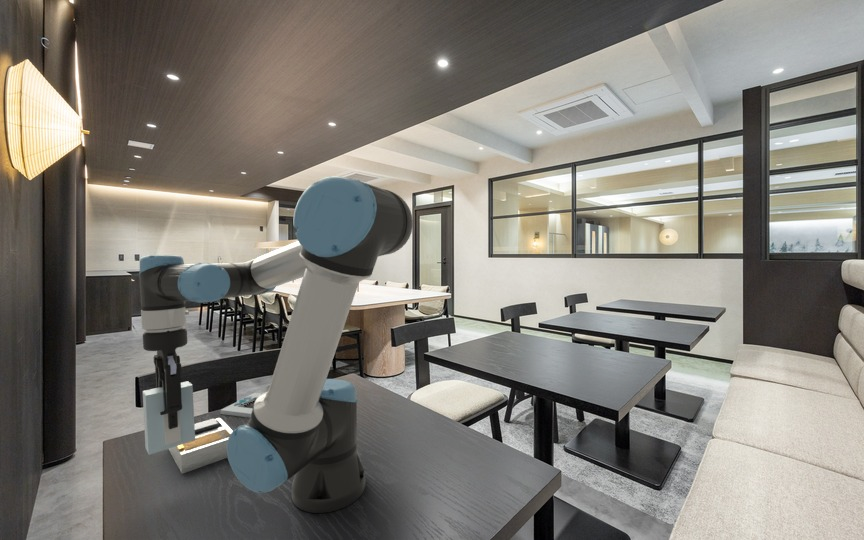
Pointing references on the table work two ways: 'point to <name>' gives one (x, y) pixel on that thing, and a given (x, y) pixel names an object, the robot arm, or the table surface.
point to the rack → (203, 446)
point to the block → (154, 420)
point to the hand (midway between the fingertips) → (170, 438)
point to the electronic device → (241, 406)
